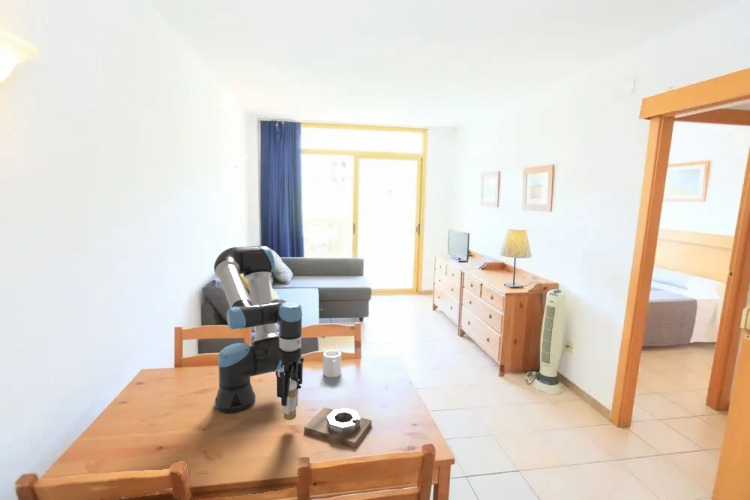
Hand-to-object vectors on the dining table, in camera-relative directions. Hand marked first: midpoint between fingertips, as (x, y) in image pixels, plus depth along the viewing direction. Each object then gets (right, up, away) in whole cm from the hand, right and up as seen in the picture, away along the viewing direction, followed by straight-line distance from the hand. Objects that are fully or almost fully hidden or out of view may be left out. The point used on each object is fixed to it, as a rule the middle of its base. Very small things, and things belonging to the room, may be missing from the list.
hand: (289, 408), depth 137 cm
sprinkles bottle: (0, -3, +1) cm, 3 cm away
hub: (+19, -6, +1) cm, 20 cm away
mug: (+11, -2, +42) cm, 44 cm away
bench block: (+17, -8, +2) cm, 19 cm away
